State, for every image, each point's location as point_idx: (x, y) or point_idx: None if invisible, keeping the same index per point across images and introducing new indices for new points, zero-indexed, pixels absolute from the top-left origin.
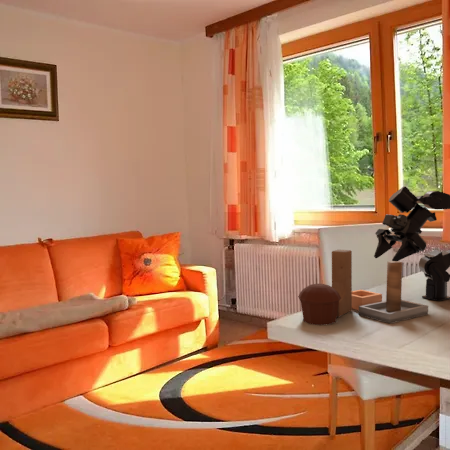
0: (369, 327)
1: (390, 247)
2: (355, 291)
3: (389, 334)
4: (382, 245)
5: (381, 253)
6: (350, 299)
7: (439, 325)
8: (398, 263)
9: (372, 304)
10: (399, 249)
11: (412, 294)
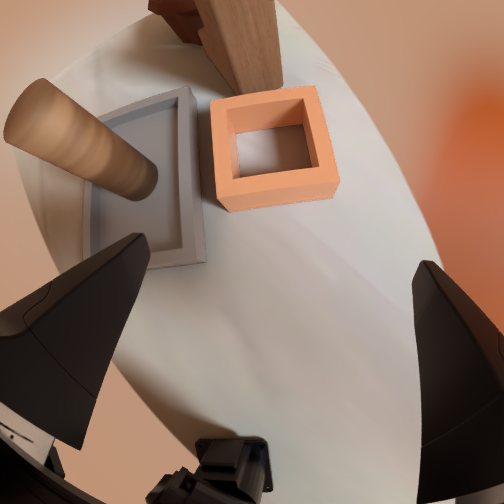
0: (115, 83)
1: (423, 486)
2: (315, 138)
3: (74, 99)
4: (473, 397)
5: (425, 352)
6: (230, 75)
7: (45, 221)
8: (9, 113)
9: (179, 127)
10: (52, 296)
11: (328, 451)
